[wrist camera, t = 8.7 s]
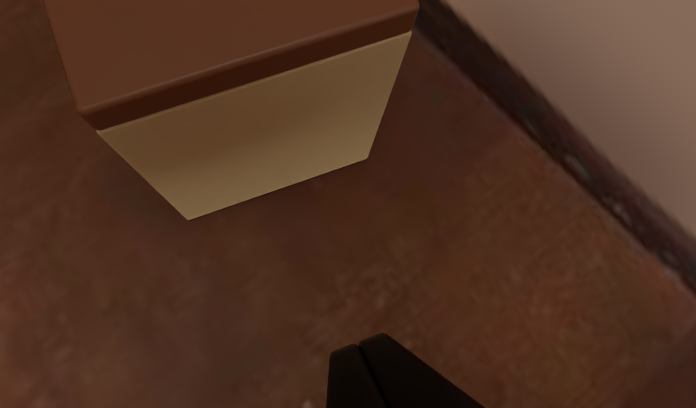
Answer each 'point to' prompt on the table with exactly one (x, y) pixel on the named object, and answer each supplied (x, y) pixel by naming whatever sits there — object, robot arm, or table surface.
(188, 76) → the cake slice
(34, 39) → the table surface
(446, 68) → the table surface
